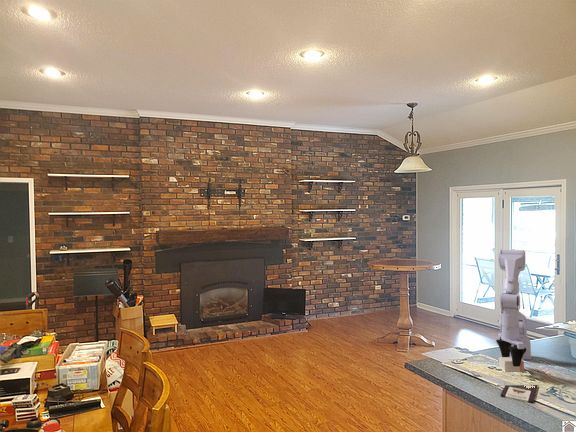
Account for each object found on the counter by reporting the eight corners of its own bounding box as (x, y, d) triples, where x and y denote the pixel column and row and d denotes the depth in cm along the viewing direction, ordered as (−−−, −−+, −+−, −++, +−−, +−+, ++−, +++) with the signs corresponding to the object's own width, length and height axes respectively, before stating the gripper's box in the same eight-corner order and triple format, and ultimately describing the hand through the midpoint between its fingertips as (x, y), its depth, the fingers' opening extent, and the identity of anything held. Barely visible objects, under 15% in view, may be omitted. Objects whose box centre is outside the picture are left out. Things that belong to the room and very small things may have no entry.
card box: (498, 367, 158) (498, 357, 158) (517, 367, 158) (517, 357, 158) (504, 372, 154) (504, 361, 154) (523, 372, 154) (523, 361, 154)
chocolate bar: (538, 383, 144) (532, 401, 129) (538, 385, 144) (533, 404, 129) (508, 377, 149) (500, 395, 134) (508, 380, 149) (500, 397, 134)
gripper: (532, 331, 149) (533, 369, 148) (511, 321, 163) (511, 356, 163) (512, 331, 149) (513, 369, 149) (492, 321, 163) (493, 356, 163)
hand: (511, 362), depth 156 cm, fingers open, 7 cm apart
